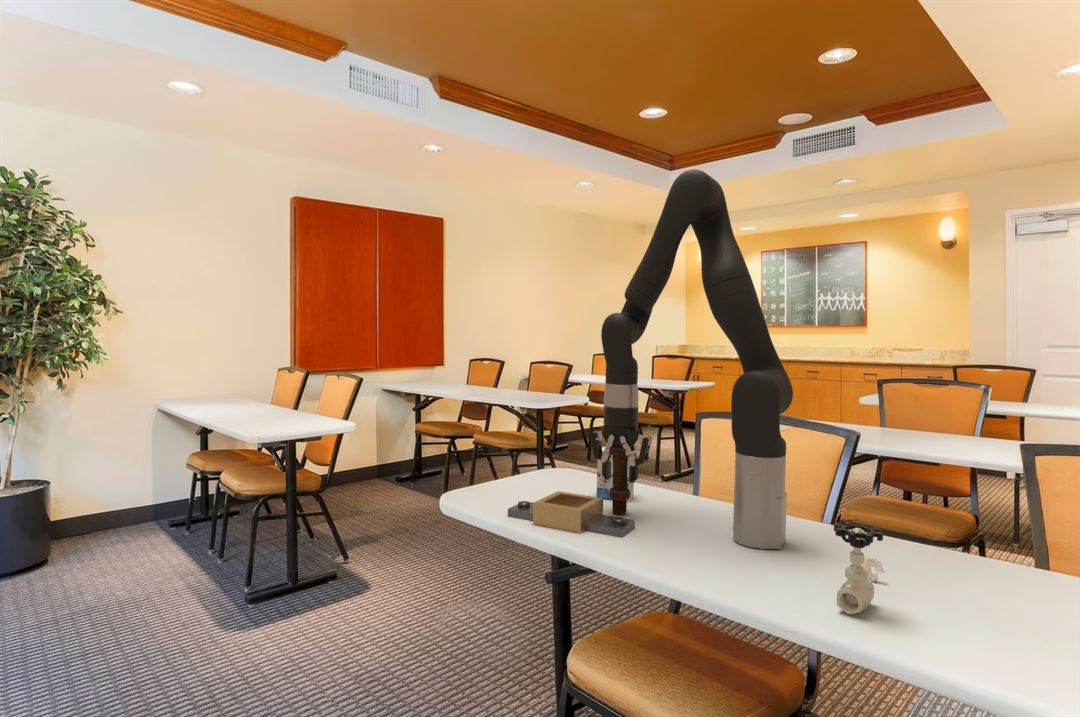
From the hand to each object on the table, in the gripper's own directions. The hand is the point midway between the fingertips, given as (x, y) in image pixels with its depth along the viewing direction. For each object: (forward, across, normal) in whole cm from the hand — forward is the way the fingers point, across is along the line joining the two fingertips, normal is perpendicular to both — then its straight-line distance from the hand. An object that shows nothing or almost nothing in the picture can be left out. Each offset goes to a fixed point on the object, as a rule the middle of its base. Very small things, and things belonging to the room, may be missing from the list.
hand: (619, 480), depth 138 cm
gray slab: (+7, +16, +11) cm, 21 cm away
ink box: (+8, +6, -12) cm, 15 cm away
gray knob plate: (+7, -2, +11) cm, 13 cm away
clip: (+8, -49, +13) cm, 51 cm away
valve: (+8, -48, +26) cm, 55 cm away
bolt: (+8, 0, 0) cm, 8 cm away
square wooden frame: (+7, +7, +11) cm, 15 cm away
